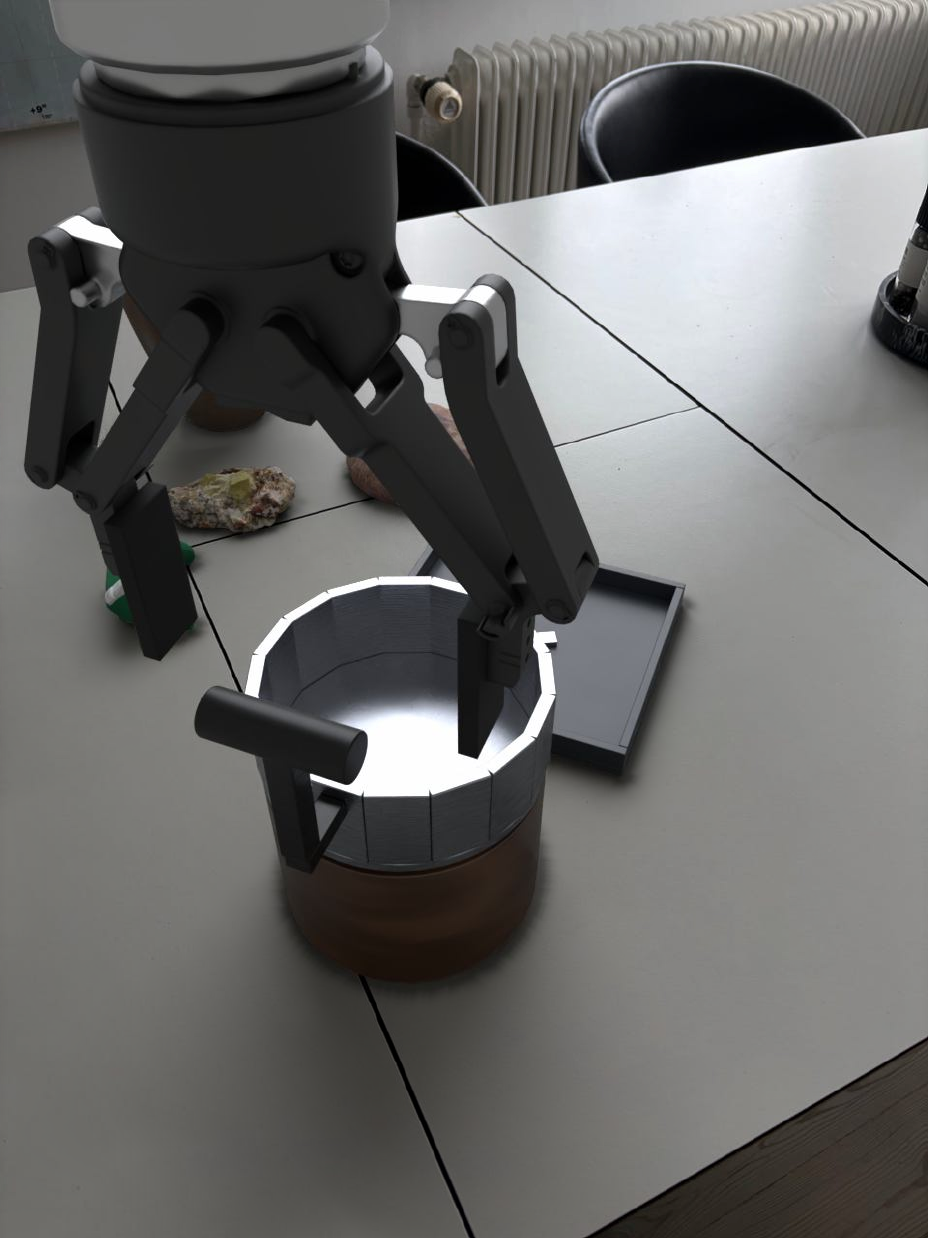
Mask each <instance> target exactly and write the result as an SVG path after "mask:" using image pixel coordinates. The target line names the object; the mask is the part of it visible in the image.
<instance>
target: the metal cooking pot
mask: <svg viewBox="0 0 928 1238" xmlns="http://www.w3.org/2000/svg"><path fill="white" fill-rule="evenodd" d="M469 598H470V596H469V595H468V594H467V592H466V591H465V590H464V588H463V587H462V586H461V585H460V584H459V583H456V582H452V581H448V580H444V579H440V578H436V577H433V578H432V577H431V576H408V575H407V576H378V577H377V576H375V577H372V578H368V579H364V580H361V581H356V582H353V583H349V584H346V585H341V586H338V587H334V588H330V589H327V590H326V591H323V592H321V593H318V595H316V596H315V597H312V598H311V599H310V600H308V601H306V602H305V603H303V604H301V605H300V606H298V607H296V608H294V609H292V610H290V611H289V612H288V613H286V614H285V615H283V616H282V617H281V618H279V619H278V621H277V622H276V623H275V624H274V626H273V627H272V628H271V630H270V631H269V632H268V634H267V635H266V636H265V637H264V638H263V639H262V641H261V642H260V643H259V645H258V646H257V647H256V649H255V650H254V651H253V652H252V655H251V657H250V662H249V667H248V671H247V677H246V681H245V687H244V692H240V691H237V690H234V689H231V688H228V687H224V686H222V685H213V686H211V687H210V688H208V689H207V690H206V691H205V692H204V694H203V695H202V697H201V699H200V701H199V702H198V704H197V707H196V709H195V713H194V718H193V719H194V720H193V728H194V732H195V735H197V737H198V738H201V739H204V740H207V741H209V742H212V743H215V744H218V745H222V746H225V747H228V748H230V749H233V750H236V751H240V752H243V753H246V754H249V755H252V756H254V757H255V763H256V767H257V771H258V774H259V776H260V779H261V781H262V785H264V786H263V790H264V789H265V791H264V794H265V793H266V796H267V798H268V800H269V802H270V804H271V806H272V811H273V817H274V822H275V827H276V832H277V837H278V842H279V847H280V852H281V855H282V856H284V857H285V861H286V865H287V866H288V867H291V868H294V869H297V870H299V871H302V872H305V873H308V874H312V873H313V871H314V870H315V868H316V866H317V865H318V863H319V861H320V859H321V858H322V856H323V855H325V856H327V857H330V858H332V859H334V860H337V861H339V862H342V863H345V864H349V865H352V866H356V867H359V868H365V869H371V870H377V871H393V872H406V871H421V870H427V869H432V868H438V867H443V866H446V865H449V864H453V863H456V862H459V861H462V860H465V859H467V858H469V857H472V856H474V855H476V854H478V853H480V852H482V851H484V850H485V849H487V848H489V847H491V846H492V845H494V844H496V843H497V842H498V841H500V840H501V839H502V838H503V837H505V836H506V835H507V834H509V833H510V832H511V831H512V830H513V829H514V828H515V827H516V826H517V825H518V824H519V823H520V822H521V821H522V820H523V819H524V817H525V816H526V814H527V813H528V812H529V810H530V809H531V808H532V806H533V804H534V803H535V801H536V799H537V797H538V795H539V793H540V791H541V788H542V784H543V781H544V778H545V773H546V774H547V771H548V768H549V766H550V762H551V755H552V754H551V744H552V734H553V724H554V714H555V704H556V686H555V678H554V670H553V661H552V654H551V652H550V650H549V649H548V647H547V646H546V644H545V643H544V642H543V640H542V639H541V637H540V636H539V635H538V633H537V632H536V630H535V629H534V639H533V640H534V645H533V653H532V655H531V657H530V659H529V661H528V663H527V665H526V667H525V669H524V671H523V673H522V675H521V677H520V679H519V681H518V682H517V684H516V685H515V686H514V688H510V687H506V686H505V687H504V707H503V709H502V711H501V713H500V715H499V717H498V719H497V721H496V723H495V725H494V727H493V729H492V731H491V733H490V735H489V737H488V739H487V742H486V744H485V746H484V748H483V750H482V752H481V754H480V756H479V758H478V760H477V759H474V758H470V757H467V756H464V755H461V754H458V641H457V619H458V617H459V616H460V614H461V612H462V610H463V609H464V607H465V605H466V604H467V602H468V600H469ZM266 796H265V797H266Z"/></svg>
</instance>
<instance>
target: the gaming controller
mask: <svg viewBox="0 0 928 1238" xmlns="http://www.w3.org/2000/svg"><path fill="white" fill-rule="evenodd" d="M180 544H181V548H182V552H183V557H184V561H185V565H186V567H187V566H190V565H191V564H193V562H194V560H195V558H196V553H195V550H194V548H193V547H192V546H191V545H190V544H188V543H187V542H186V541H183V540H180ZM105 571H106V573H105V593H104V603H105V607H106V608H107V610H109V611H110V612H111V613H112V614H114V616H116V617H117V618H118V620H120V621H122V622H124V623H126V622H127V623H129V624H132V625H134V623H133V620H132V616H131V613H130V610H129V607H128V603H127V600H126V597H125V593H124V590H123V587H122V584H121V580H120V577H118V576H115V575H112V573H111V572H110V570H109V569H108V567H107V566H106V570H105ZM195 624H196V621H195V622H194V623H193V624H192V625H191V627H190V628H189V629H188V630H187V631H186V632H189V631H193V630H194V627H195Z"/></svg>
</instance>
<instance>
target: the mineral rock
mask: <svg viewBox="0 0 928 1238" xmlns="http://www.w3.org/2000/svg"><path fill="white" fill-rule="evenodd" d="M296 489H297V483H296V481H295V480H294V479H293V478H292V477H291V476H290V475H286V474H285V473H284V472H283V470H282V468H280V467H277V466H276V465H272V466H270V465H268V466H265V467H263V468H262V469H261V468H260V467H257V466H256V467H255V466H253V467H252V466H250V468H245V467H237V466H235V467H231V468H229V469H222V470H221V471H220V472H218V473H216V474H214V473H205V475H203V477H201V478H200V479H197V480H194V481H193V482H191V483H188V484H187V485H186V486H184V485H179V486H175V487H172V488H170V490H167V491H168V495H169V499H170V503H171V507H172V511H173V515H174V519H175V520H176V521H178V522H179V523H180V525H182V526H184V527H187V528H190V529H193V528H198V529H201V530H211V529H217V528H218V529H219V528H221V529H227V530H229V531H231V532H233V533H241V534H244V533H248V532H250V531H251V532H257V531H258V530H259V529H262V528H263V527H271V526H273V525H274V524H275V522H276V518H277V517H278V516H279V514H281V513H282V512H284V511H285V510H287V509H288V508H289V507H290V506H291V505H292V503H293V500H294V499H295V497H296V494H295V493H296Z"/></svg>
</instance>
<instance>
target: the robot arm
mask: <svg viewBox="0 0 928 1238" xmlns="http://www.w3.org/2000/svg"><path fill="white" fill-rule="evenodd" d="M48 5H49V9H50V13H51V17H52V18H51V19H52V22H53V26H54V31H55V33H56V35H57V37H58V39H59V42H61V43H62V44H63V45H64V46H66V47H67V48H69V49H70V50H71V51H72V52H74V53H75V54H76V55H78V56H80V57H83V58H85V59H87V60H86V61H85V62H84V63H83V64H82V66H81V67H80V68H79V70H78V72H77V77H76V78H75V80H74V81H73V83H72V86H71V94H72V99H73V103H74V107H75V111H76V115H77V121H78V123H79V128H80V132H81V137H82V140H83V144H84V148H85V153H86V157H87V161H88V165H89V169H90V173H91V178H92V181H93V186H94V190H95V194H96V197H97V198H96V199H97V202H98V205H99V207H97V206H94V205H93V206H92V205H88V206H86V207H85V208H83V209H81V210H79V211H77V212H76V213H74V214H72V215H71V216H67V218H65V219H63V220H61V221H59V222H58V223H56V224H54V225H52V226H50V227H49V228H47V229H46V230H44V231H42V232H40V233H39V234H37V235H35V236H34V237H31V238H30V239H29V241H28V243H27V255H28V258H29V259H28V260H29V264H30V267H31V272H32V277H33V280H34V286H35V289H36V294H37V299H38V303H39V306H40V312H39V322H38V329H37V330H38V331H37V337H36V349H35V358H34V368H33V376H32V385H31V386H32V387H31V393H30V395H31V396H30V405H29V414H28V422H27V431H26V432H27V433H26V441H25V442H26V443H25V449H24V450H25V452H24V459H23V470H24V473H25V475H26V477H27V478H28V479H29V480H30V482H31V483H32V484H34V485H35V486H37V487H38V488H39V489H42V490H47V491H48V490H51V489H53V488H55V486H56V485H57V486H59V487H60V488H63V489H65V490H66V491H68V492H70V493H71V495H72V499H73V501H74V503H75V504H76V506H77V507H78V508H79V509H80V510H81V511H82V512H84V513H85V514H87V515H89V518H90V522H91V524H92V527H93V530H94V531H93V532H94V534H95V536H96V541H97V542H98V547H99V549H100V551H101V552H100V553H101V556H102V559H103V562H104V564H105V566H106V568H107V567H108V569H109V570H110V572H111V573H112V575H115V576H118V577H120V580H121V584H122V587H123V590H124V593H125V597H126V600H127V603H128V607H129V610H130V613H131V616H132V620H133V623H134V624H133V626H134V630H135V632H136V636H137V639H138V643H139V646H140V649H141V653H142V656H143V658H146V659H149V660H153V661H156V662H162V660H163V659H164V658H165V657H166V656H167V654H169V652H170V651H171V650H172V649H173V648H174V647H175V645H176V644H177V643H178V642H179V641H180V639H182V637H183V636H184V635H185V634H186V633H187V632H188V631H187V630H188V629H189V628H190V627H191V625H192V624H193V623H194V622H195V623H196V622H197V620H198V619H199V614H198V611H197V606H196V602H195V597H194V594H193V590H192V586H191V581H190V578H189V573H188V569H187V566H186V565H185V561H184V557H183V552H182V548H181V544H180V541H181V539H180V536H179V532H178V529H177V523H176V519H175V518H174V515H173V511H172V507H171V503H170V499H169V495H168V491H169V490H168V487H167V485H166V484H162V483H158V482H154V481H150V480H148V481H147V482H146V483H145V484H144V485H143V486H141V488H139V486H138V483H137V481H138V480H140V479H141V478H142V477H143V476H144V475H145V474H146V473H148V471H150V470H151V469H152V468H153V467H154V466H155V464H154V463H153V461H154V460H155V459H156V458H157V456H158V454H159V453H160V451H161V450H162V448H163V447H164V446H165V444H166V443H167V441H168V440H169V438H170V437H171V436H172V434H173V432H174V431H175V430H176V428H177V427H178V426H179V424H180V422H181V421H182V419H183V418H184V417H185V416H186V415H185V414H186V412H187V411H188V409H189V408H190V407H191V405H192V404H193V402H194V401H195V399H196V398H197V396H198V395H199V394H200V392H201V391H202V389H203V388H204V389H205V390H206V391H208V392H209V393H211V394H212V395H214V396H216V402H217V405H218V406H222V407H227V408H231V409H236V410H258V409H261V410H265V412H267V413H269V414H272V415H274V416H276V417H278V418H279V419H282V420H284V421H286V422H290V423H293V424H299V425H303V426H307V427H312V425H313V424H315V423H316V422H317V423H318V424H319V425H320V427H322V429H323V430H324V432H325V433H326V434H327V435H328V437H329V438H330V440H332V442H333V444H335V445H336V447H337V448H338V449H339V450H340V451H341V453H343V454H344V455H345V457H346V456H348V457H350V458H360V459H362V460H363V461H364V462H365V463H366V464H367V466H368V467H369V468H370V469H371V471H372V472H373V473H374V475H375V476H376V477H377V478H378V480H379V481H380V482H381V483H382V485H383V486H384V487H385V489H386V490H387V491H388V492H389V494H390V495H391V496H392V498H393V499H394V500H395V501H396V503H397V504H396V505H398V507H399V508H400V510H401V511H402V512H403V513H404V514H405V516H406V517H407V519H409V522H411V524H412V525H413V526H414V527H415V528H416V530H417V531H418V532H419V534H420V535H421V536H422V537H423V539H424V540H425V541H426V543H427V544H428V545H430V546H431V547H432V549H433V550H434V551H435V553H436V554H437V555H438V556H439V558H440V559H441V560H442V562H443V563H444V564H445V565H446V567H447V568H448V569H449V571H450V572H451V573H452V574H453V576H454V577H455V578H456V580H457V581H458V582H459V583H460V585H461V586H462V587H463V588H464V590H465V591H466V592H467V594H468V595H469V596H470V598H469V600H468V602H467V604H466V605H465V607H464V609H463V610H462V612H461V614H460V616H459V617H458V619H457V641H458V754H461V755H464V756H467V757H470V758H474V759H477V760H478V758H479V756H480V754H481V752H482V750H483V748H484V746H485V744H486V742H487V739H488V737H489V735H490V733H491V731H492V729H493V727H494V725H495V723H496V721H497V719H498V717H499V715H500V713H501V711H502V709H503V707H504V687H505V686H506V687H510V688H514V686H515V685H516V684H517V682H518V681H519V679H520V677H521V675H522V673H523V671H524V669H525V667H526V665H527V663H528V661H529V659H530V657H531V655H532V653H533V645H534V640H533V639H534V629H535V616H536V615H543V616H544V617H545V618H546V619H547V620H549V621H551V622H553V623H556V624H563V625H565V624H568V623H571V622H572V621H573V620H575V619H576V616H577V614H578V612H579V610H580V608H581V605H582V603H583V601H584V599H585V597H586V595H587V592H588V590H589V588H590V586H591V584H592V581H593V579H594V577H595V575H596V573H597V571H598V568H599V565H600V563H601V562H600V559H599V555H598V553H597V551H596V548H595V545H594V542H593V541H592V538H591V536H590V535H591V534H590V533H589V531H588V528H587V525H586V523H585V521H584V518H583V515H582V513H581V511H580V508H579V506H578V503H577V500H576V498H575V496H574V493H573V490H572V488H571V486H570V483H569V480H568V478H567V475H566V472H565V470H564V468H563V465H562V463H561V460H560V458H559V455H558V453H557V450H556V448H555V445H554V443H553V439H552V438H551V436H550V435H551V434H550V433H549V430H548V428H547V425H546V422H545V420H544V418H543V416H542V413H541V410H540V408H539V406H538V402H537V401H536V398H535V396H534V393H533V390H532V388H531V386H530V383H529V379H528V378H527V375H526V373H525V370H524V368H523V365H522V362H521V360H520V358H519V347H518V327H517V326H518V325H517V324H518V322H517V298H516V295H515V294H516V293H515V290H514V288H513V286H512V284H511V282H509V280H508V279H507V278H505V277H503V276H502V275H500V274H497V273H484V274H483V275H482V276H479V277H478V278H477V279H476V280H475V282H474V283H472V285H471V286H470V287H469V288H454V287H444V286H443V287H442V286H432V285H421V284H413V282H412V281H411V279H410V277H409V275H408V273H407V271H406V270H405V267H404V265H403V262H402V259H401V257H400V254H399V251H398V246H397V223H398V222H397V221H398V211H399V182H398V161H397V160H398V159H397V158H398V157H397V156H398V155H397V153H398V152H397V133H396V132H397V131H396V109H395V87H394V86H395V85H394V72H393V69H392V67H391V66H390V64H389V63H388V62H386V60H385V59H384V57H383V55H382V54H381V53H380V52H379V50H377V49H376V48H375V47H374V46H372V45H371V44H372V43H373V42H374V41H375V40H376V39H377V38H378V37H379V36H380V34H381V33H383V31H385V29H386V27H387V25H388V23H389V21H390V19H391V7H390V6H391V5H390V0H48ZM126 292H127V293H128V295H129V296H130V298H131V299H132V300H133V301H134V303H135V304H136V305H137V307H138V308H139V309H140V310H141V312H142V313H143V314H144V316H145V317H146V318H147V319H148V321H149V322H150V323H151V325H152V326H153V327H154V328H155V330H156V331H157V332H158V333H159V335H160V340H159V342H158V343H157V345H156V347H155V348H154V350H153V351H152V353H151V355H150V356H149V358H148V357H147V360H146V361H145V363H144V365H143V366H142V368H141V369H140V372H139V373H138V374H137V376H136V378H135V379H134V381H133V383H132V387H133V388H134V389H133V391H132V393H131V394H130V395H129V398H128V399H127V401H126V402H125V404H124V405H123V408H121V410H120V412H119V414H118V415H117V417H116V419H115V420H114V422H113V424H112V425H111V427H110V429H109V431H107V433H106V435H105V436H104V439H103V440H102V441H101V443H100V445H99V446H98V444H99V441H100V434H101V429H102V424H103V417H104V413H105V407H106V401H107V396H108V391H109V385H110V381H111V380H110V379H111V375H112V369H113V364H114V359H115V352H116V347H117V342H118V337H119V332H120V325H121V321H122V315H123V311H124V309H123V302H124V294H125V293H126ZM402 336H405V337H408V338H409V339H411V340H413V341H414V342H415V343H417V345H418V346H419V348H420V349H421V350H422V353H423V355H424V358H425V362H424V370H425V372H426V375H428V376H429V377H430V378H432V379H435V380H441V379H442V384H443V391H444V395H445V399H446V402H447V407H448V409H449V410H450V412H451V415H452V417H453V420H454V423H455V425H456V427H457V429H458V432H459V434H460V436H461V438H462V440H463V443H464V445H465V447H466V449H467V452H468V454H469V456H470V458H471V460H472V463H473V465H474V467H475V468H474V467H473V466H472V464H471V463H470V462H469V460H468V459H467V458H466V456H465V455H464V453H463V452H462V451H461V449H460V448H459V447H458V445H457V444H456V442H455V441H454V440H453V438H452V437H451V436H450V434H449V433H448V432H447V430H446V429H445V427H444V426H443V425H442V423H441V422H440V421H439V419H438V418H437V417H436V415H435V414H434V412H433V411H432V410H431V408H430V407H429V406H428V404H427V403H428V402H427V401H426V398H425V384H424V382H423V380H422V378H421V376H420V374H419V373H418V372H417V370H416V369H415V368H414V365H412V364H411V362H410V361H409V359H408V358H407V357H406V355H405V354H404V352H403V351H402V350H401V348H400V347H399V346H398V344H397V342H398V341H399V340H400V339H401V337H402ZM367 380H369V381H370V384H372V386H373V388H374V392H375V395H374V396H373V398H372V399H371V401H370V402H369V403H368V404H367V405H366V407H364V406H363V404H362V403H361V401H360V400H359V399H358V398H357V397H356V394H357V393H358V392H359V390H360V389H361V388H362V387H363V385H364V384H365V383H366V382H367ZM475 469H476V470H475Z"/></svg>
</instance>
